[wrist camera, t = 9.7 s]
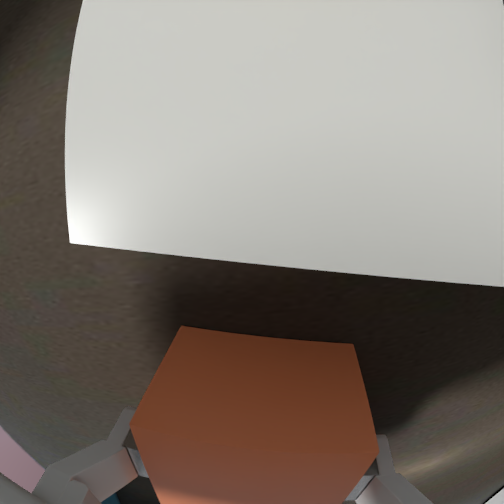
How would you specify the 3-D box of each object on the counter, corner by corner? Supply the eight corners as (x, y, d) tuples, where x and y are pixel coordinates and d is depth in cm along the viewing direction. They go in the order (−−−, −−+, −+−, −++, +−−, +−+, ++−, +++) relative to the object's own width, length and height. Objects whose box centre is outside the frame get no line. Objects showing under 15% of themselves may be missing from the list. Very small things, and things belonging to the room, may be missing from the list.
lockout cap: (353, 343, 9) (380, 451, 5) (313, 454, 11) (314, 535, 7) (181, 325, 9) (128, 423, 5) (191, 441, 11) (167, 517, 7)
